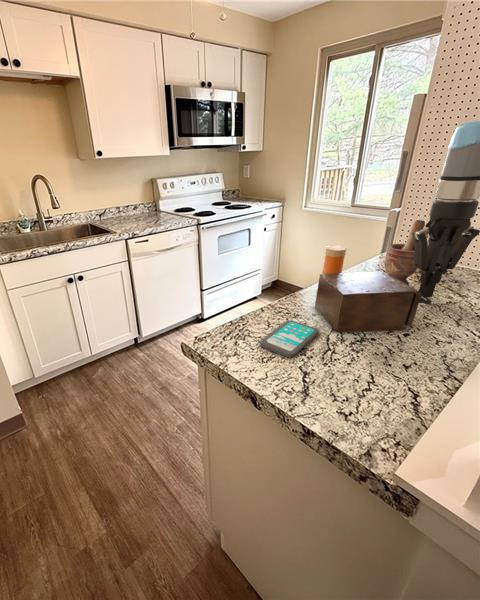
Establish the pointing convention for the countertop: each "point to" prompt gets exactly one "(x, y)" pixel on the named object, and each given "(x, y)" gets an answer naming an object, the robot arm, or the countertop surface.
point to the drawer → (414, 303)
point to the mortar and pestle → (403, 256)
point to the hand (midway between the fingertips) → (424, 294)
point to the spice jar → (334, 259)
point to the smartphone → (289, 338)
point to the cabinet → (363, 301)
